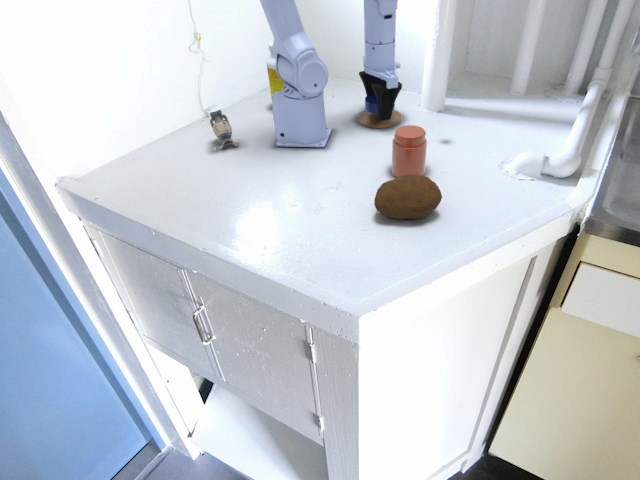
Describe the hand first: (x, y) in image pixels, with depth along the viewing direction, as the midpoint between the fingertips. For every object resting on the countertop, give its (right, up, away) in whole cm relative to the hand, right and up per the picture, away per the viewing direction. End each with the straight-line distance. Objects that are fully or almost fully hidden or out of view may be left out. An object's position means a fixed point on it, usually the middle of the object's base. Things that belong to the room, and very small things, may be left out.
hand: (379, 113), depth 96 cm
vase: (-30, -8, -5) cm, 32 cm away
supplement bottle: (-20, +4, +8) cm, 22 cm away
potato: (+3, -25, -25) cm, 36 cm away
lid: (0, +2, -2) cm, 3 cm away
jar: (+4, -16, -16) cm, 23 cm away
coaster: (0, -1, +1) cm, 1 cm away
